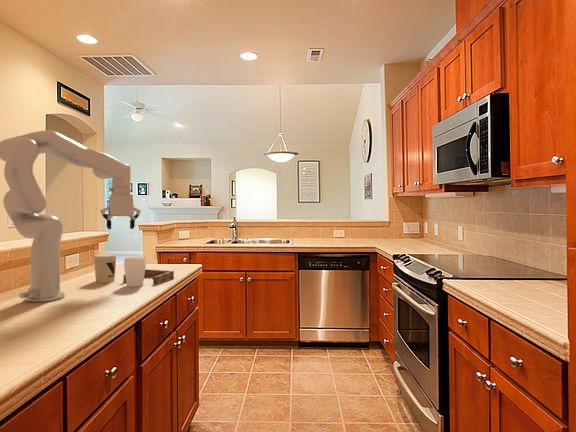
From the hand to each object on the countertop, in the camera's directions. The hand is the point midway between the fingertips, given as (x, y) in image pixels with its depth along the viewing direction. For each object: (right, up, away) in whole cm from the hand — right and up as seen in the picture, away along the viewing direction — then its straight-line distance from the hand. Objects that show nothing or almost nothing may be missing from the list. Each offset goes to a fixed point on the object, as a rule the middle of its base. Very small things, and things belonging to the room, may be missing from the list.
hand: (120, 228), depth 179 cm
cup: (+8, -25, -4) cm, 27 cm away
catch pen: (+10, -24, +7) cm, 28 cm away
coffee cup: (-9, -24, +4) cm, 26 cm away
